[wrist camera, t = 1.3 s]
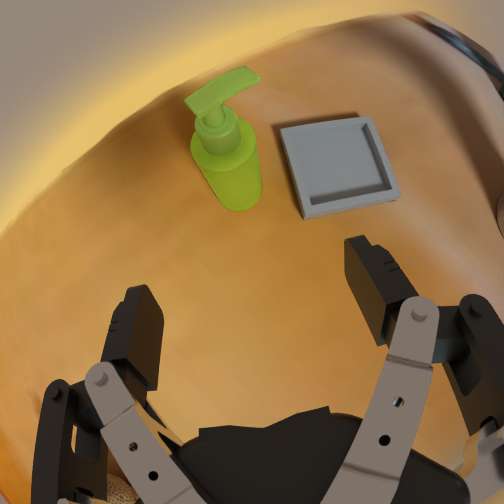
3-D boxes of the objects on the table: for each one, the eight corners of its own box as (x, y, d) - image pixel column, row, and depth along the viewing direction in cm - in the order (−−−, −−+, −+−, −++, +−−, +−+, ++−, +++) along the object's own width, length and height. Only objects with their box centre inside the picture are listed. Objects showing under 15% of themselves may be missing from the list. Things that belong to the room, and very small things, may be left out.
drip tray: (365, 124, 38) (370, 116, 35) (394, 200, 36) (401, 195, 33) (280, 137, 38) (280, 129, 36) (303, 220, 36) (305, 215, 34)
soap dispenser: (277, 188, 37) (279, 90, 17) (234, 220, 37) (192, 146, 17) (250, 156, 38) (229, 48, 18) (208, 187, 38) (151, 96, 18)
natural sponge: (93, 462, 34) (61, 488, 24) (132, 461, 33) (103, 492, 24) (118, 502, 32) (93, 531, 22) (159, 502, 32) (137, 537, 22)
